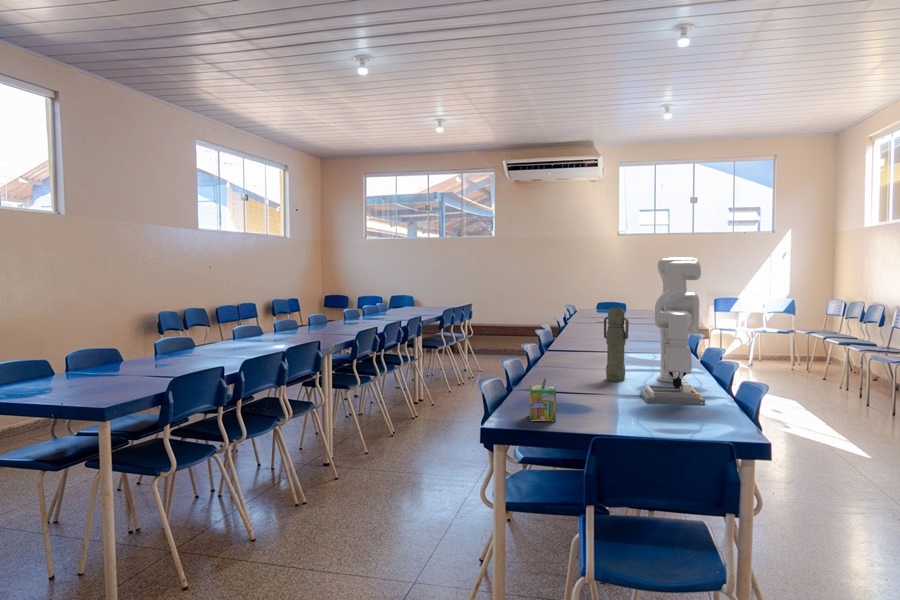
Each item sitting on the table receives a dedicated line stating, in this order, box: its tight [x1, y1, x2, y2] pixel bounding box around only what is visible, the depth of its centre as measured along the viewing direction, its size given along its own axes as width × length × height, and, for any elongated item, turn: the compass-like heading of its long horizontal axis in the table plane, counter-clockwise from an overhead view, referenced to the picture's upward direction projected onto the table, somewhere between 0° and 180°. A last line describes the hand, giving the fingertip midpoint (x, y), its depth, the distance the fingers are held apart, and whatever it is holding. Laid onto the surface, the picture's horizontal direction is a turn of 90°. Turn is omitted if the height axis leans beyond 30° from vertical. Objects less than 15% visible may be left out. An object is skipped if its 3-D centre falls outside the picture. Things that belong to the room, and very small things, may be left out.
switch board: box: [640, 384, 706, 405], centre depth 230 cm, size 22×16×4 cm
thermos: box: [603, 306, 630, 382], centre depth 270 cm, size 9×12×35 cm
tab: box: [681, 382, 692, 393], centre depth 227 cm, size 3×4×5 cm
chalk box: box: [528, 377, 557, 422], centre depth 201 cm, size 9×9×15 cm
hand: (677, 387), depth 227 cm, fingers closed
